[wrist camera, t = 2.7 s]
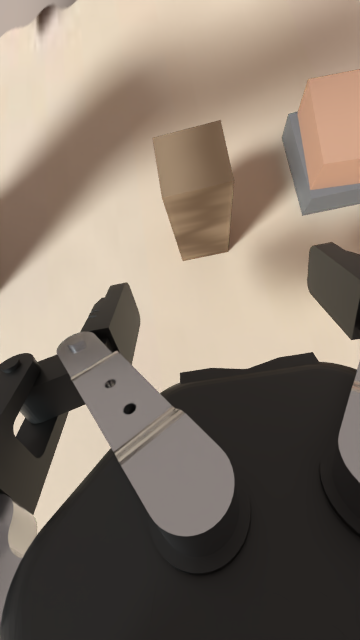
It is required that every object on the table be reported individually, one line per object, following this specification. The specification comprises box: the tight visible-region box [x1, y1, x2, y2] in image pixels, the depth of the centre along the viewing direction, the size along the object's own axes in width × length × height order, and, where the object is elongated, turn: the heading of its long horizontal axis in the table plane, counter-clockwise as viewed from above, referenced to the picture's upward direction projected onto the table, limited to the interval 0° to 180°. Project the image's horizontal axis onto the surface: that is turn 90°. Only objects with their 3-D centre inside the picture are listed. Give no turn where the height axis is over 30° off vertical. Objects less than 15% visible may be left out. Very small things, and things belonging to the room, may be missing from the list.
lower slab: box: [282, 112, 360, 216], centre depth 24 cm, size 9×9×3 cm
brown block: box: [153, 120, 234, 261], centre depth 21 cm, size 4×4×10 cm
